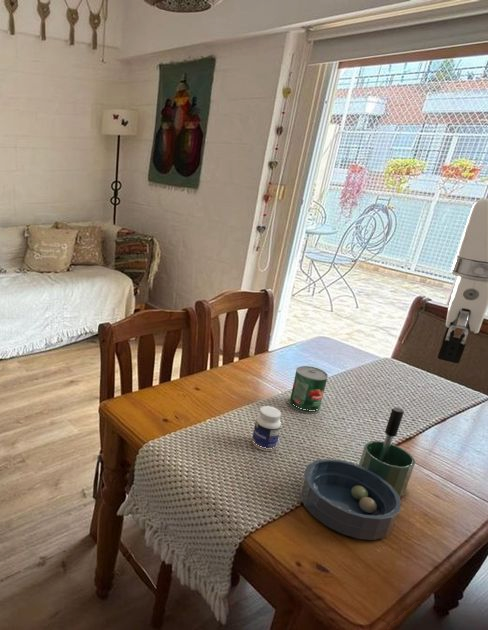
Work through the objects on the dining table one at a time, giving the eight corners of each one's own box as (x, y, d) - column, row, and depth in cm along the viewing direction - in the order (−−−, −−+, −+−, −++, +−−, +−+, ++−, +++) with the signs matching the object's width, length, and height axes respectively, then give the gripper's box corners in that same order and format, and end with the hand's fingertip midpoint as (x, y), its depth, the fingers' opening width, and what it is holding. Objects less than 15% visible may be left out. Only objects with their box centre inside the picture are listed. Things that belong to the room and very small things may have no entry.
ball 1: (361, 481, 93) (351, 488, 94) (355, 484, 91) (345, 492, 93) (374, 494, 91) (363, 501, 93) (368, 498, 89) (357, 505, 91)
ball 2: (379, 513, 89) (380, 510, 86) (362, 515, 89) (363, 512, 87) (372, 497, 90) (373, 494, 88) (356, 499, 91) (356, 496, 89)
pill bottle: (246, 440, 112) (252, 407, 108) (264, 435, 114) (270, 402, 110) (263, 454, 107) (270, 419, 103) (281, 449, 109) (288, 415, 105)
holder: (407, 482, 98) (417, 453, 95) (400, 504, 92) (411, 474, 89) (360, 463, 104) (369, 435, 101) (351, 483, 98) (360, 454, 95)
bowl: (398, 507, 91) (406, 484, 89) (384, 558, 80) (393, 534, 78) (312, 470, 102) (317, 448, 100) (288, 510, 90) (293, 487, 88)
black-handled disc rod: (388, 478, 98) (411, 409, 92) (384, 488, 95) (408, 417, 89) (367, 470, 101) (388, 402, 94) (363, 479, 98) (385, 410, 91)
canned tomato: (317, 417, 122) (326, 382, 118) (287, 408, 126) (294, 374, 122) (321, 404, 128) (329, 370, 124) (291, 396, 132) (298, 363, 128)
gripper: (508, 282, 72) (473, 374, 78) (507, 263, 84) (476, 344, 90) (449, 273, 77) (420, 361, 83) (456, 256, 89) (430, 334, 95)
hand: (449, 352), depth 86 cm, fingers open, 9 cm apart
